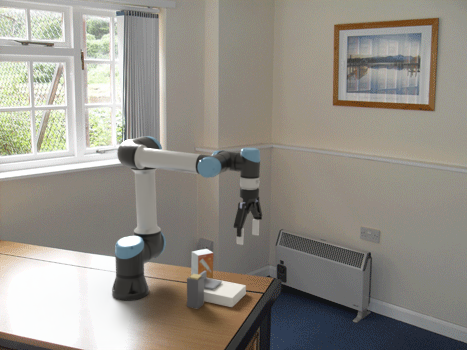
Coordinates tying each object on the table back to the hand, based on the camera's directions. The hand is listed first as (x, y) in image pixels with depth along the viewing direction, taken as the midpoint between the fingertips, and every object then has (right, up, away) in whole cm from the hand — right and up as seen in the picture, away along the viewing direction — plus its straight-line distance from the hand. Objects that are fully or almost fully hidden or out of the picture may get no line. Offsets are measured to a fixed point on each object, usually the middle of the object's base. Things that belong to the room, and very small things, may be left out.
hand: (247, 239), depth 212 cm
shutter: (-16, -21, +12) cm, 29 cm away
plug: (-21, -27, +2) cm, 34 cm away
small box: (-20, -22, +29) cm, 41 cm away
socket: (-13, -25, +11) cm, 30 cm away
